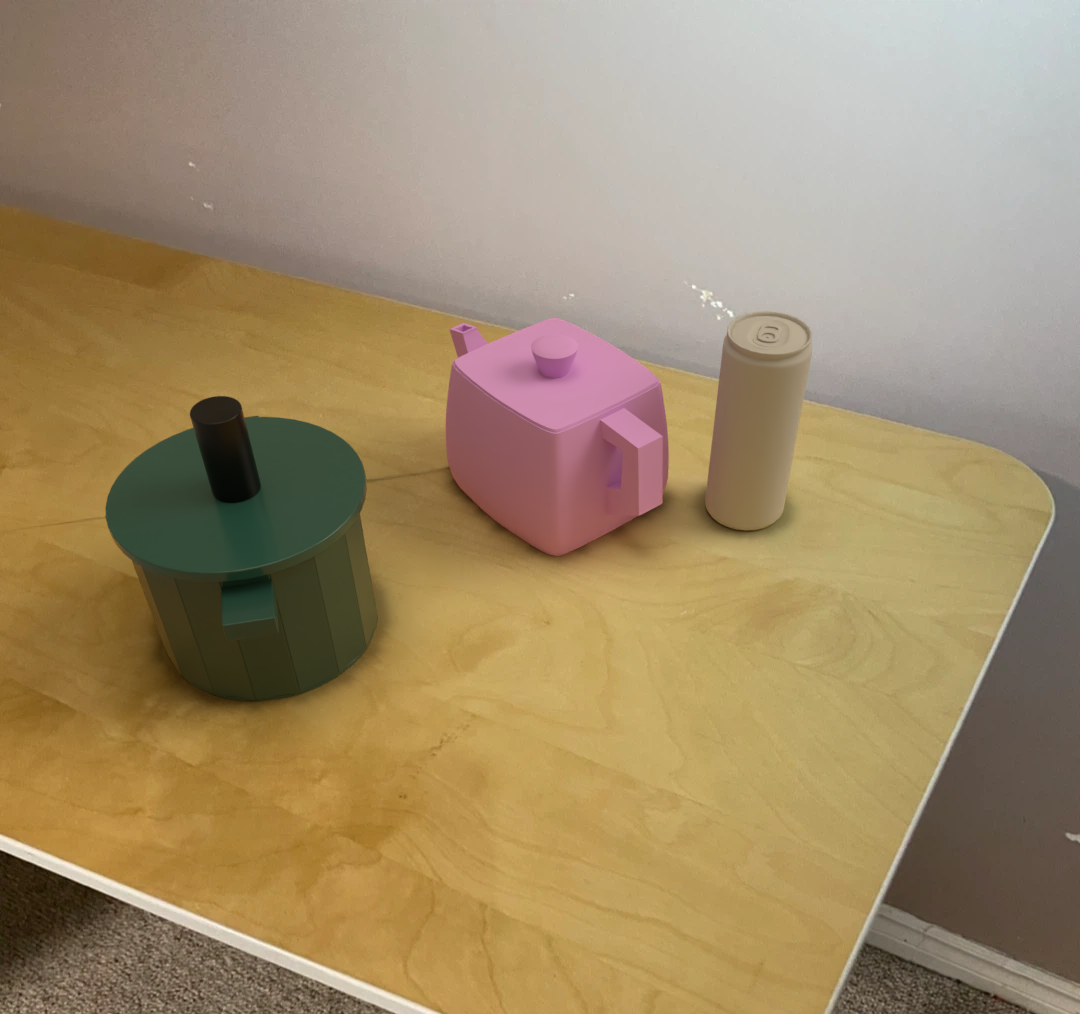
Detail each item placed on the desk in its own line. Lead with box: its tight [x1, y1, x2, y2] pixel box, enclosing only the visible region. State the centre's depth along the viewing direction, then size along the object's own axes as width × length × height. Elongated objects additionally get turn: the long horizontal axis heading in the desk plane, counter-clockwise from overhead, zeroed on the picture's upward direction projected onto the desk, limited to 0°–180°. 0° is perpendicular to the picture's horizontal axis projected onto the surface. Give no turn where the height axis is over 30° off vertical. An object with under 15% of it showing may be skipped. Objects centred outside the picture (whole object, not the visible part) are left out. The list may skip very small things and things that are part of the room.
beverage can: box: [704, 310, 813, 532], centre depth 65 cm, size 5×5×12 cm
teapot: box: [445, 317, 670, 557], centre depth 67 cm, size 18×10×10 cm, turn 39°
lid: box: [104, 395, 368, 582], centre depth 54 cm, size 13×13×6 cm
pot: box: [131, 415, 379, 702], centre depth 59 cm, size 12×17×9 cm
